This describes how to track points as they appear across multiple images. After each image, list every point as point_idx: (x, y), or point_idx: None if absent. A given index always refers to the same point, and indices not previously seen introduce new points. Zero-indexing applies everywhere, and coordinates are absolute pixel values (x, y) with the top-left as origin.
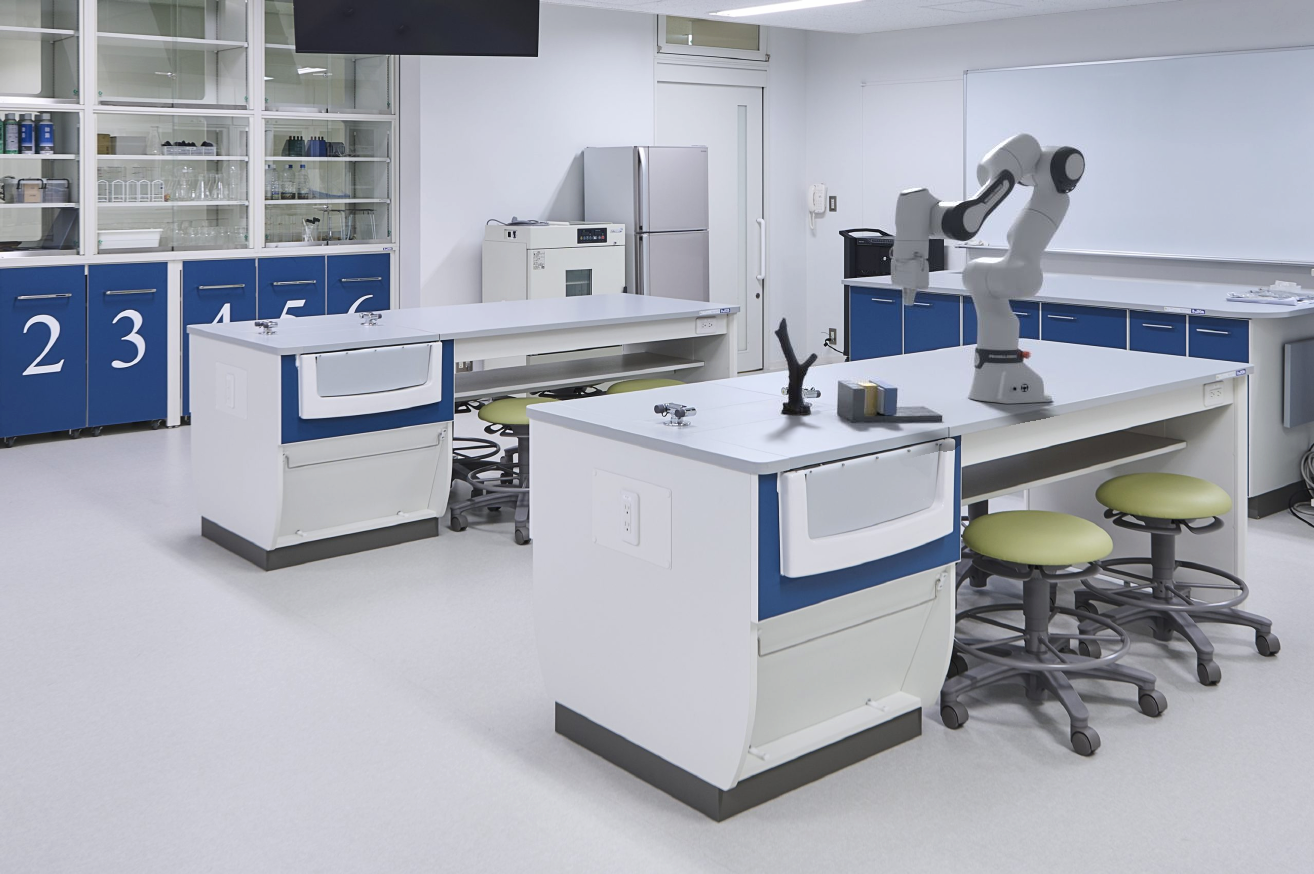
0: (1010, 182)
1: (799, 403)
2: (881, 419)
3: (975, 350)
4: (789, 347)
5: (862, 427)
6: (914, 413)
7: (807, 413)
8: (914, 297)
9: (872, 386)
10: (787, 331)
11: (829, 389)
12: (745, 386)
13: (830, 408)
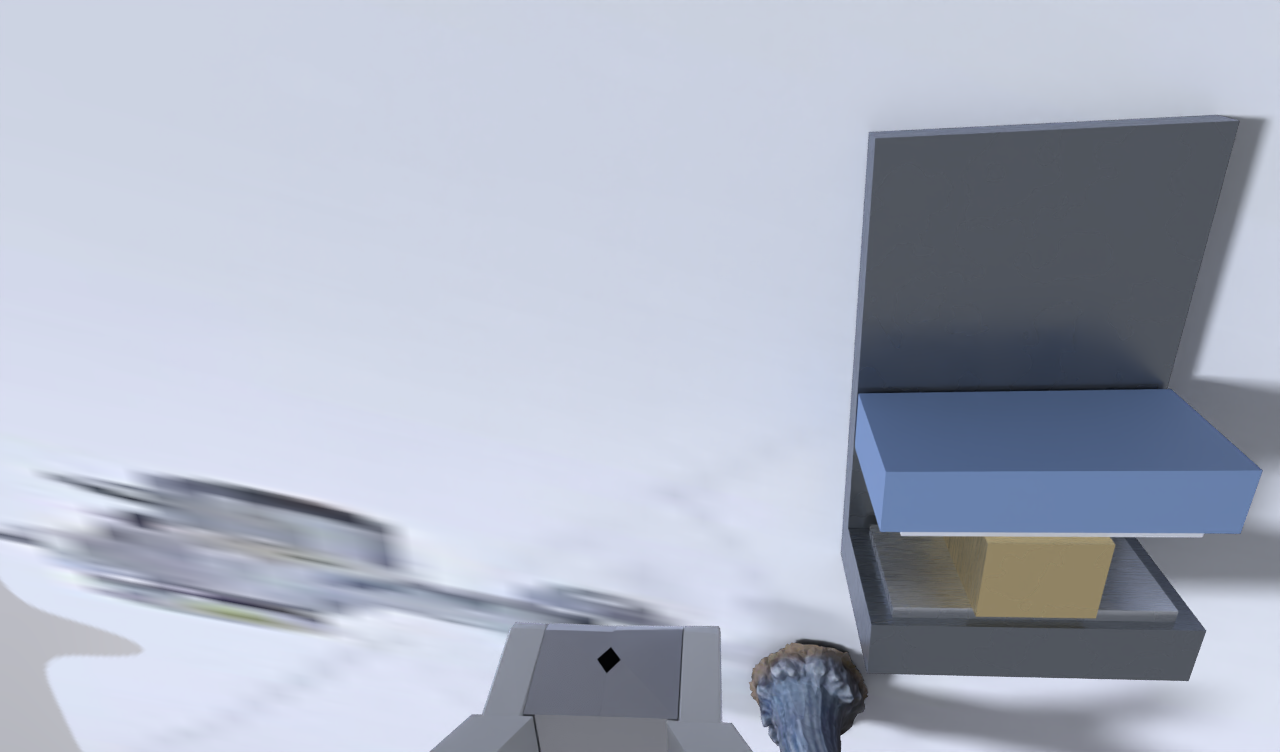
0: None
1: (837, 716)
2: None
3: None
4: None
5: (1234, 545)
6: (1116, 269)
7: (844, 659)
8: (748, 747)
9: (1105, 567)
10: None
11: (103, 421)
12: (123, 707)
13: (699, 546)
